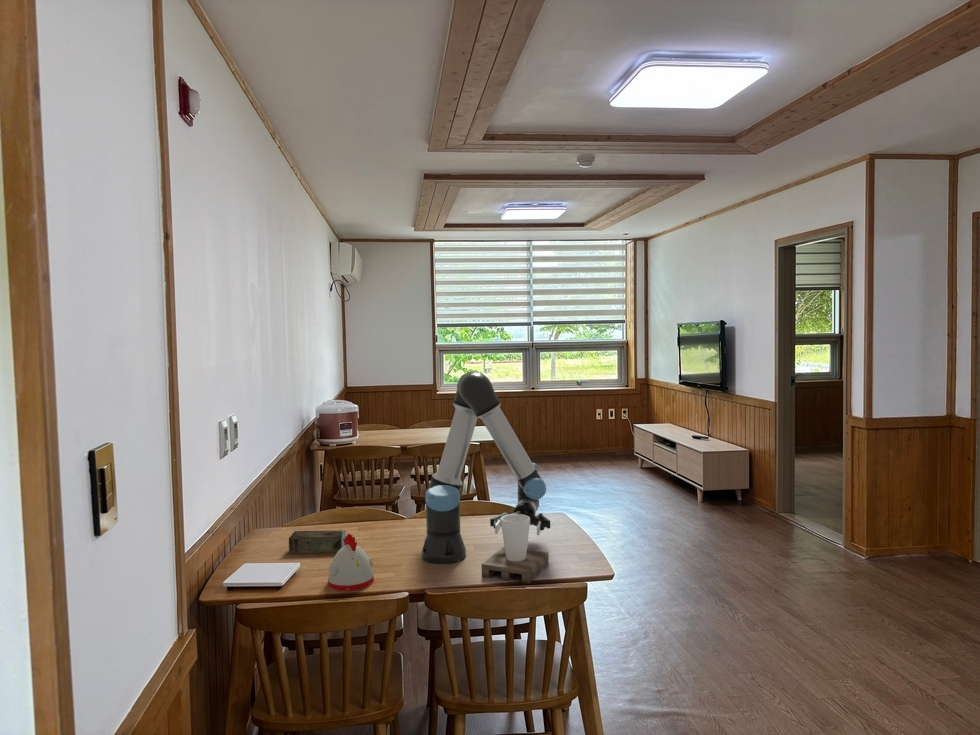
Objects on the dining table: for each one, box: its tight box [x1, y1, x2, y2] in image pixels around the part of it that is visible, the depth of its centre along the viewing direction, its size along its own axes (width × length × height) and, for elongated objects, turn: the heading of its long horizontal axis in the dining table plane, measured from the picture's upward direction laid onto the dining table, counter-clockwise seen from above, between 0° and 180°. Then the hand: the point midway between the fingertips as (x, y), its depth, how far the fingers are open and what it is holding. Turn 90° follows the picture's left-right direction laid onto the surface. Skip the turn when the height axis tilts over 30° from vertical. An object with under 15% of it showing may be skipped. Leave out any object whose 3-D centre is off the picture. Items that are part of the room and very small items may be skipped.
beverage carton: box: [288, 529, 347, 554], centre depth 226 cm, size 8×19×7 cm, turn 92°
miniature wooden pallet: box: [481, 545, 549, 585], centre depth 203 cm, size 18×16×4 cm
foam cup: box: [501, 513, 531, 561], centre depth 203 cm, size 10×9×13 cm
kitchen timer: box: [327, 533, 375, 592], centre depth 195 cm, size 14×14×15 cm
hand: (516, 530), depth 203 cm, fingers open, 13 cm apart
